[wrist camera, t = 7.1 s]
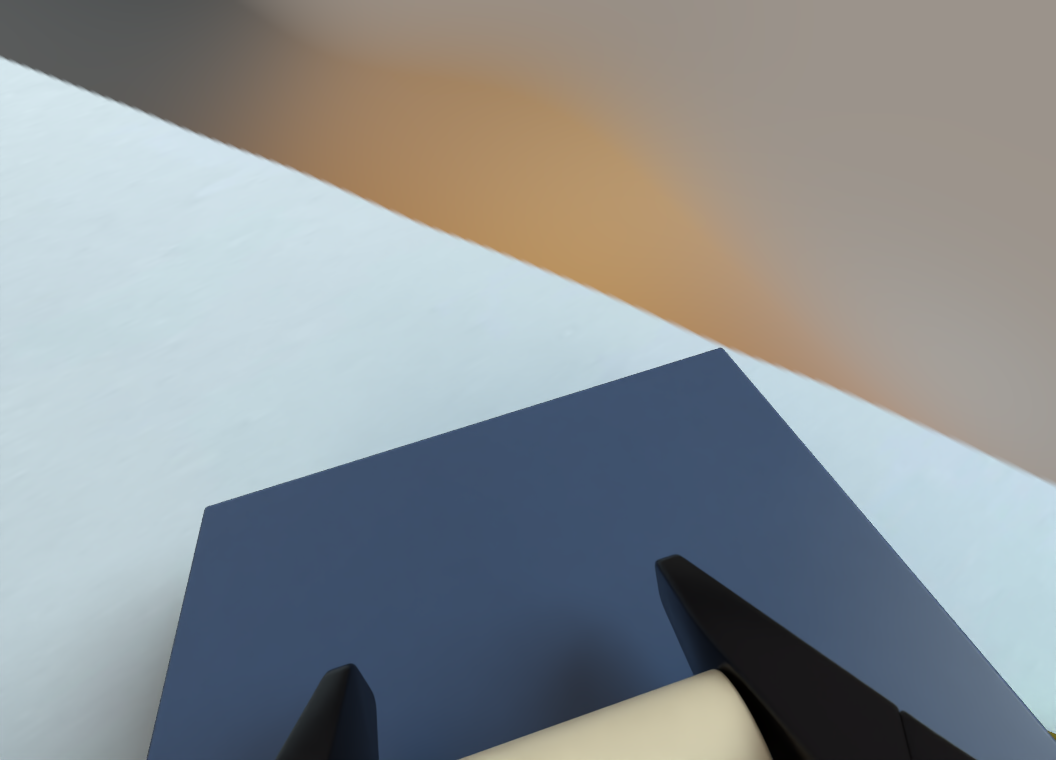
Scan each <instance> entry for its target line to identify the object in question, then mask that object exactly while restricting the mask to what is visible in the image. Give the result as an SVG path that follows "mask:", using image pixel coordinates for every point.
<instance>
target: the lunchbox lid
mask: <svg viewBox="0 0 1056 760" xmlns="http://www.w3.org/2000/svg"><path fill="white" fill-rule="evenodd" d="M673 554H678V555H681V556H683V557H684V558H685V559H687V560H688V561H690V562H691V563H693V564H694V565H696V566H697V567H698V568H700V569H701V570H703V571H704V572H706V573H707V574H708V575H710V576H711V577H713V578H714V579H716V580H717V581H719V582H720V583H721V584H723V585H724V586H726V587H727V588H729V589H730V590H732V591H733V592H734V593H736V594H737V595H739V596H740V597H742V598H743V599H745V600H746V601H747V602H749V603H750V604H752V605H753V606H755V607H756V608H757V609H759V610H760V611H762V612H763V613H765V614H766V615H768V616H769V617H770V618H772V619H773V620H775V621H776V622H778V623H779V624H781V625H782V626H783V627H785V628H786V629H788V630H789V631H791V632H792V633H794V634H795V635H796V636H798V637H799V638H801V639H802V640H804V641H805V642H806V643H808V644H809V645H811V646H812V647H814V648H815V649H817V650H818V651H819V652H821V653H822V654H824V655H825V656H827V657H828V658H830V659H831V660H832V661H834V662H835V663H837V664H838V665H840V666H841V667H843V668H844V669H845V670H847V671H848V672H850V673H851V674H853V675H854V676H856V677H857V678H858V679H860V680H861V681H863V682H864V683H866V684H867V685H868V686H870V687H871V688H873V689H874V690H876V691H877V692H879V693H880V694H881V695H883V696H884V697H886V698H887V699H889V700H890V701H892V702H893V703H894V704H896V705H897V706H898V708H899V712H900V711H901V710H904V711H906V712H908V713H909V714H911V715H912V716H913V717H915V718H916V719H918V720H919V721H921V722H922V723H923V724H925V725H926V726H928V727H929V728H931V729H932V730H933V731H935V732H936V733H938V734H939V735H941V736H942V737H944V738H945V739H947V740H948V741H950V742H951V743H953V744H954V745H956V746H957V747H959V748H960V749H962V750H963V751H965V752H966V753H968V754H969V755H971V756H972V757H974V758H975V759H977V760H1056V740H1055V739H1054V738H1053V737H1052V736H1051V734H1050V733H1049V732H1048V731H1047V730H1046V729H1045V727H1044V726H1043V725H1042V724H1041V723H1040V721H1039V720H1038V719H1037V718H1036V717H1035V716H1034V714H1033V713H1032V712H1031V711H1030V710H1029V709H1028V707H1027V706H1026V705H1025V704H1024V703H1023V701H1022V700H1021V699H1020V698H1019V697H1018V696H1017V694H1016V693H1015V692H1014V691H1013V690H1012V688H1011V687H1010V686H1009V685H1008V684H1007V683H1006V681H1005V680H1004V679H1003V678H1002V677H1001V676H1000V674H999V673H998V672H997V671H996V670H995V668H994V667H993V666H992V665H991V664H990V663H989V661H988V660H987V659H986V658H985V657H984V656H983V654H982V653H981V652H980V651H979V650H978V648H977V647H976V646H975V645H974V644H973V643H972V641H971V640H970V639H969V638H968V637H967V635H966V634H965V633H964V632H963V631H962V630H961V628H960V627H959V626H958V625H957V624H956V623H955V621H954V620H953V619H952V618H951V617H950V615H949V614H948V613H947V612H946V611H945V610H944V608H943V607H942V606H941V605H940V604H939V602H938V601H937V600H936V599H935V598H934V597H933V595H932V594H931V593H930V592H929V591H928V590H927V588H926V587H925V586H924V585H923V584H922V582H921V581H920V580H919V579H918V578H917V577H916V575H915V574H914V573H913V572H912V571H911V569H910V568H909V567H908V566H907V565H906V564H905V562H904V561H903V560H902V559H901V558H900V557H899V555H898V554H897V553H896V552H895V551H894V549H893V548H892V547H891V546H890V545H889V544H888V542H887V541H886V540H885V539H884V538H883V537H882V535H881V534H880V533H879V532H878V531H877V529H876V528H875V527H874V526H873V525H872V524H871V522H870V521H869V520H868V519H867V518H866V516H865V515H864V514H863V513H862V512H861V511H860V509H859V508H858V507H857V506H856V505H855V504H854V502H853V501H852V500H851V499H850V498H849V496H848V495H847V494H846V493H845V492H844V491H843V489H842V488H841V487H840V486H839V485H838V483H837V482H836V481H835V480H834V479H833V478H832V476H831V475H830V474H829V473H828V472H827V471H826V469H825V468H824V467H823V466H822V465H821V463H820V462H819V461H818V460H817V459H816V458H815V456H814V455H813V454H812V453H811V452H810V451H809V449H808V448H807V447H806V446H805V445H804V443H803V442H802V441H801V440H800V439H799V438H798V436H797V435H796V434H795V433H794V432H793V430H792V429H791V428H790V427H789V426H788V425H787V423H786V422H785V421H784V420H783V419H782V418H781V416H780V415H779V414H778V413H777V412H776V410H775V409H774V408H773V407H772V406H771V405H770V403H769V402H768V401H767V400H766V399H765V397H764V396H763V395H762V394H761V393H760V392H759V390H758V389H757V388H756V387H755V386H754V385H753V383H752V382H751V381H750V380H749V379H748V377H747V376H746V375H745V374H744V373H743V372H742V370H741V369H740V368H739V367H738V366H737V364H736V363H735V362H734V361H733V360H732V359H731V357H730V356H729V355H728V354H727V353H726V352H725V350H724V349H723V348H718V349H715V350H711V351H708V352H705V353H702V354H699V355H695V356H692V357H689V358H686V359H682V360H679V361H676V362H673V363H669V364H666V365H663V366H660V367H657V368H653V369H650V370H647V371H644V372H640V373H637V374H634V375H631V376H627V377H624V378H621V379H618V380H615V381H611V382H608V383H605V384H602V385H598V386H595V387H592V388H589V389H586V390H582V391H579V392H576V393H573V394H569V395H566V396H563V397H560V398H556V399H553V400H550V401H547V402H544V403H540V404H537V405H534V406H531V407H527V408H524V409H521V410H518V411H515V412H511V413H508V414H505V415H502V416H498V417H495V418H492V419H489V420H485V421H482V422H479V423H476V424H473V425H469V426H466V427H463V428H460V429H456V430H453V431H450V432H447V433H444V434H440V435H437V436H434V437H431V438H427V439H424V440H421V441H418V442H414V443H411V444H408V445H405V446H402V447H398V448H395V449H392V450H389V451H385V452H382V453H379V454H376V455H372V456H369V457H366V458H363V459H360V460H356V461H353V462H350V463H347V464H343V465H340V466H337V467H334V468H331V469H327V470H324V471H321V472H318V473H314V474H311V475H308V476H305V477H301V478H298V479H295V480H292V481H289V482H285V483H282V484H279V485H276V486H272V487H269V488H266V489H263V490H260V491H256V492H253V493H250V494H247V495H243V496H240V497H237V498H234V499H230V500H227V501H224V502H221V503H218V504H214V505H211V506H208V507H206V508H205V510H204V514H203V518H202V523H201V527H200V531H199V536H198V540H197V544H196V548H195V553H194V557H193V561H192V566H191V570H190V574H189V579H188V583H187V587H186V592H185V596H184V600H183V605H182V609H181V613H180V617H179V622H178V626H177V630H176V635H175V639H174V643H173V648H172V652H171V656H170V661H169V665H168V669H167V673H166V678H165V682H164V686H163V691H162V695H161V699H160V704H159V708H158V712H157V717H156V721H155V725H154V730H153V734H152V738H151V742H150V747H149V751H148V755H147V760H275V758H276V757H277V755H278V753H279V752H280V750H281V748H282V746H283V745H284V743H285V741H286V739H287V738H288V736H289V734H290V733H291V731H292V729H293V727H294V726H295V724H296V722H297V721H298V719H299V717H300V715H301V714H302V712H303V710H304V708H305V707H306V705H307V703H308V702H309V700H310V698H311V696H312V695H313V693H314V691H315V689H316V688H317V686H318V684H319V683H320V681H321V679H322V677H323V676H324V675H325V674H326V672H328V671H329V670H331V669H333V668H336V667H339V666H342V665H345V664H348V663H352V664H355V665H356V666H357V667H358V669H359V671H360V672H361V674H362V675H363V677H364V679H365V680H366V682H367V683H368V685H369V687H370V688H371V690H372V692H373V694H374V697H375V701H376V708H377V729H378V749H379V760H773V758H772V756H771V753H770V751H769V749H768V747H767V744H766V742H765V740H764V738H763V736H762V734H761V732H760V730H759V728H758V726H757V724H756V722H755V720H754V718H753V716H752V714H751V712H750V711H749V709H748V707H747V705H746V704H745V702H744V700H743V699H742V697H741V696H740V694H739V693H738V691H737V690H736V688H735V687H734V685H733V684H732V683H731V682H730V680H729V679H728V678H727V677H726V676H725V675H724V674H723V673H722V672H721V671H720V670H716V669H711V670H708V671H706V672H703V673H700V674H697V675H693V673H692V671H691V668H690V666H689V664H688V662H687V659H686V657H685V655H684V653H683V650H682V648H681V646H680V644H679V641H678V639H677V637H676V635H675V632H674V630H673V628H672V626H671V623H670V621H669V619H668V617H667V614H666V612H665V610H664V607H663V605H662V602H661V599H660V596H659V590H658V585H657V579H656V573H655V562H656V560H658V559H661V558H664V557H667V556H670V555H673Z"/></svg>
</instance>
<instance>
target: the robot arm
mask: <svg viewBox="0 0 1056 760" xmlns="http://www.w3.org/2000/svg"><path fill="white" fill-rule="evenodd" d="M655 573H656V579H657V585H658V590H659V596H660V599H661V602H662V605H663V607H664V610H665V612H666V614H667V617H668V619H669V621H670V623H671V626H672V628H673V630H674V632H675V635H676V637H677V639H678V641H679V644H680V646H681V648H682V650H683V653H684V655H685V657H686V659H687V662H688V664H689V666H690V668H691V671H692V673H693V675H697V674H700V673H703V672H706V671H708V670H711V669H716V670H720V671H721V672H722V673H723V674H724V675H725V676H726V677H727V678H728V679H729V680H730V682H731V683H732V684H733V685H734V687H735V688H736V690H737V691H738V693H739V694H740V696H741V697H742V699H743V700H744V702H745V704H746V705H747V707H748V709H749V711H750V712H751V714H752V716H753V718H754V720H755V722H756V724H757V726H758V728H759V730H760V732H761V734H762V736H763V738H764V740H765V742H766V744H767V747H768V749H769V751H770V753H771V756H772V758H773V760H977V759H975V758H974V757H972V756H971V755H969V754H968V753H966V752H965V751H963V750H962V749H960V748H959V747H957V746H956V745H954V744H953V743H951V742H950V741H948V740H947V739H945V738H944V737H942V736H941V735H939V734H938V733H936V732H935V731H933V730H932V729H931V728H929V727H928V726H926V725H925V724H923V723H922V722H921V721H919V720H918V719H916V718H915V717H913V716H912V715H911V714H909V713H908V712H906V711H904V710H901V711H900V712H899V708H898V706H897V705H896V704H894V703H893V702H892V701H890V700H889V699H887V698H886V697H884V696H883V695H881V694H880V693H879V692H877V691H876V690H874V689H873V688H871V687H870V686H868V685H867V684H866V683H864V682H863V681H861V680H860V679H858V678H857V677H856V676H854V675H853V674H851V673H850V672H848V671H847V670H845V669H844V668H843V667H841V666H840V665H838V664H837V663H835V662H834V661H832V660H831V659H830V658H828V657H827V656H825V655H824V654H822V653H821V652H819V651H818V650H817V649H815V648H814V647H812V646H811V645H809V644H808V643H806V642H805V641H804V640H802V639H801V638H799V637H798V636H796V635H795V634H794V633H792V632H791V631H789V630H788V629H786V628H785V627H783V626H782V625H781V624H779V623H778V622H776V621H775V620H773V619H772V618H770V617H769V616H768V615H766V614H765V613H763V612H762V611H760V610H759V609H757V608H756V607H755V606H753V605H752V604H750V603H749V602H747V601H746V600H745V599H743V598H742V597H740V596H739V595H737V594H736V593H734V592H733V591H732V590H730V589H729V588H727V587H726V586H724V585H723V584H721V583H720V582H719V581H717V580H716V579H714V578H713V577H711V576H710V575H708V574H707V573H706V572H704V571H703V570H701V569H700V568H698V567H697V566H696V565H694V564H693V563H691V562H690V561H688V560H687V559H685V558H684V557H683V556H681V555H678V554H673V555H670V556H667V557H664V558H661V559H658V560H656V562H655ZM275 760H379V749H378V729H377V708H376V701H375V697H374V694H373V692H372V690H371V688H370V687H369V685H368V683H367V682H366V680H365V679H364V677H363V675H362V674H361V672H360V671H359V669H358V667H357V666H356V665H355V664H352V663H348V664H345V665H342V666H339V667H336V668H333V669H331V670H329V671H328V672H326V674H325V675H324V676H323V677H322V679H321V681H320V683H319V684H318V686H317V688H316V689H315V691H314V693H313V695H312V696H311V698H310V700H309V702H308V703H307V705H306V707H305V708H304V710H303V712H302V714H301V715H300V717H299V719H298V721H297V722H296V724H295V726H294V727H293V729H292V731H291V733H290V734H289V736H288V738H287V739H286V741H285V743H284V745H283V746H282V748H281V750H280V752H279V753H278V755H277V757H276V758H275Z"/></svg>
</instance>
